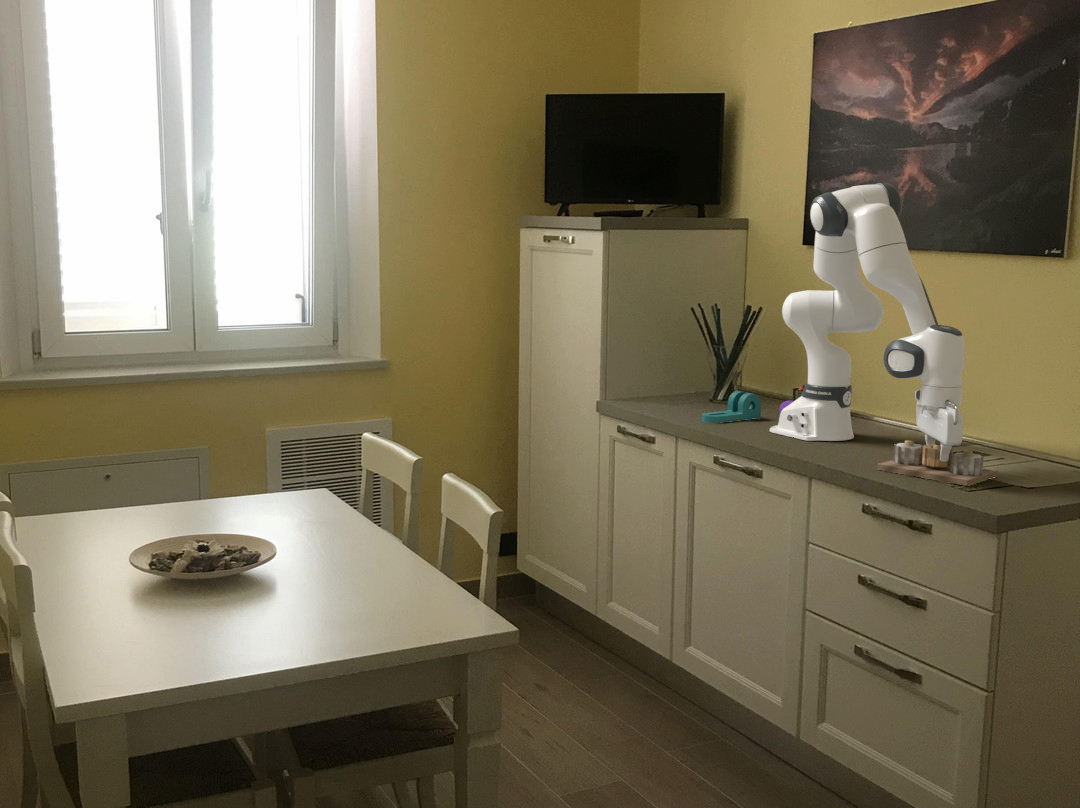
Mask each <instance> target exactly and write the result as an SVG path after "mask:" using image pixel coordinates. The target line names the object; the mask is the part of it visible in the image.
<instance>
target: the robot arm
mask: <svg viewBox="0 0 1080 808" xmlns="http://www.w3.org/2000/svg"><path fill="white" fill-rule="evenodd" d="M902 209H903V202H902V196H901V194H900V192H899V190H898V189H897V187H896V186H895V185H894V184H891V183H888V182H876V183H874V184H863V185H855V186H854V185H853V186H851V187H846V188H842V189H838V190H835V191H832V192H830V191H828V192H824V193H822V194H820V195H817V196H816V197H814V199H813V200H812V202H811V204H810V208H809V219H810V223H811V225H812V228H813V229H814V231H815V233H814V234H815V235H814V251H813V266H812V267H813V272H814V274H815V275H816V276H817V277H818V279H820V281H822V282H824V283H826V284H828V285H830V286H832V287H833V288H834V289H835V290H819V289H818V290H817V289H816V290H813V289H811V290H810V289H807V290H802V291H801V290H800V291H795V292H790V294H789V295H787V297H786V298H785V299H784V302H783V304H782V309H781V314H782V319H783V321H784V324H785V325H786V326H787V327H788V328H789V329H790V330H791V331H793V332H794V333H795V334H796V335H797V336H798V337H799V339H800V341H801V342H802V344H803V346H804V348H805V352H806V358H807V382H806V383H804V384H803V385H799V386H798V387H799V388H798V389H797V390H798V391H802V392H801V393H800V395H801V396H799V397H798V398H796V399H795V400H793V401H794V402H792V403H791V404H789V405H788V406H787V407H785V408H784V409H783V410H782V411H781V414H780V413H779V418H778V423H777V425H773V426H771V427H770V428H769V432H770V433H773V434H777V435H781V436H785V437H788V438H789V437H790V438H793V437H794V439H798V440H803V441H807V442H808V441H809V442H813V441H815V442H816V441H820V442H821V441H823V442H825V441H826V442H827V441H828V442H835V441H836V442H837V441H838V442H839V441H841V442H842V441H848V440H852V439H854V438H855V437H854V436H855V435H854V433H853V429H852V427H853V426H852V419H851V402H852V394H853V393H852V392H853V389H852V388H853V386H852V384H851V375H852V362H853V361H852V357H851V354H850V353H849V352H848V351H847V350H846V349H844V348H843V347H841V346H839V345H837V344H835V343H834V342H832V341H830V339H829V334H831V333H841V334H842V333H843V334H844V333H845V334H846V333H847V334H859V333H867V332H871V331H875V330H877V328H878V327H879V326H880V325H881V323H882V321H883V320H884V319H883V318H884V313H885V309H884V305H883V301H882V300H881V298H880V297H879V296H878V295H877V294H876V293H874V292H873V291H872V290H870V289H869V288H868V287H867V286H866V284H865V283H864V281H863V279H862V277H861V274H860V268H861V270H862V272H863V275H864V277H865V279H866V280H867V282H868V283H869V284H871V286H872V287H873V286H874V287H875V288H877V289H879V290H881V291H884V292H886V293H887V294H888V295H891V296H892V297H894V298H895V299H896V300H897V302H898V303H900V305H901V307H902V308H903V312H904V314H905V316H906V320H907V322H908V326H909V328H910V332H911V335H908V336H905V337H901V338H897V339H894V340H892V341H891V342H890V343H889V342H888V343H889V344H887V346H886V347H885V350H884V352H883V365H884V367H885V369H886V372H887V373H888V374H890V376H892V377H893V378H896V379H900V380H909V379H920V381H921V384H920V386H921V387H920V388H919V389H916V390H915V393H914V394H915V395H914V398H915V400H916V408H915V409H916V410H915V413H916V415H915V416H916V417H915V418H916V420H915V421H916V427H917V429H918V430H919V431H920V432H922V433H923V434H924V438H925V443H926V444H925V445H929V444H934V445H936V441H938V442H940V444H939V445H940V446H941V450H940V453H939V457H938V459H939V460H940V461H942V462H947V461H948V460H949V453H950V451H951V448H952V447H953V446H960V445H962V441H963V435H964V433H963V431H964V430H963V429H964V428H963V427H964V423H963V422H964V420H963V414H962V412H961V411H960V410H959V409H958V408H960V407H961V406H962V404H963V403H962V401H963V387H964V386H963V385H964V382H963V378H962V376H963V375H962V374H963V371H964V368H965V357H966V356H965V355H966V354H965V353H966V350H965V349H966V348H965V347H966V346H965V343H966V342H965V337H964V335H963V332H962V331H961V330H959V329H958V328H956V327H953V326H950V325H943V324H939V323H938V320H937V317H936V315H935V312H934V309H933V307H932V303H931V301H930V297H929V294H928V292H927V289H926V287H925V285H924V283H923V280H922V278H921V277H920V274H919V273H918V271H917V270H916V267H915V266H914V262H913V260H912V257H911V254H910V251H909V248H908V245H907V240H906V237H905V233H904V230H903V227H902V224H901V222H900V220H899V217H900V215H901V213H902ZM859 263H860V264H859Z"/></svg>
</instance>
